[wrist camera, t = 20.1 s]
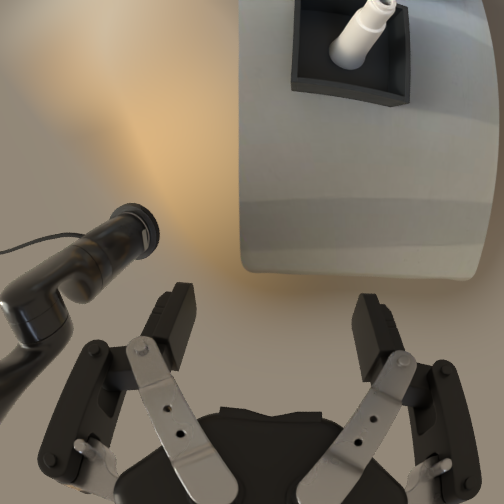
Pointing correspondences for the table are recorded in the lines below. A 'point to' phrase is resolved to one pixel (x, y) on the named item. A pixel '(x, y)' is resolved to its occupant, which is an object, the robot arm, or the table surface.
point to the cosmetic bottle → (361, 34)
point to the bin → (342, 80)
